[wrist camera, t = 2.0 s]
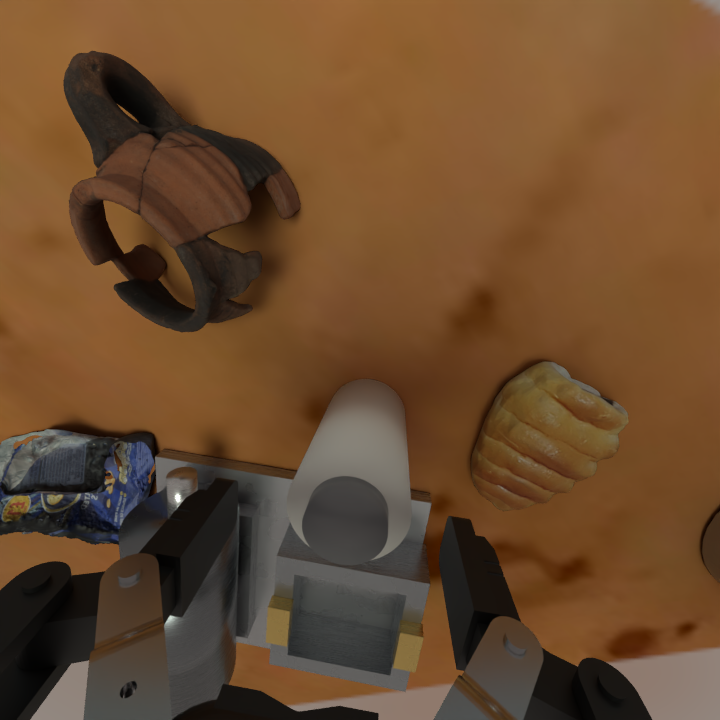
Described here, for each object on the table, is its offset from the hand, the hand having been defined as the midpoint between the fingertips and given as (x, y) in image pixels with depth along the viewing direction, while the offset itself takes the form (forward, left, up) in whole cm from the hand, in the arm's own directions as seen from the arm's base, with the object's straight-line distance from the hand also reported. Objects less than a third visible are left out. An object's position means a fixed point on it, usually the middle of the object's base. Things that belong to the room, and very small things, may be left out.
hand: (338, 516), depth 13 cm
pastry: (-11, -1, -10) cm, 15 cm away
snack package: (+20, +8, -10) cm, 23 cm away
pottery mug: (+10, -11, -10) cm, 18 cm away
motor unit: (+4, +13, -10) cm, 17 cm away
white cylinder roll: (0, 0, -10) cm, 10 cm away
